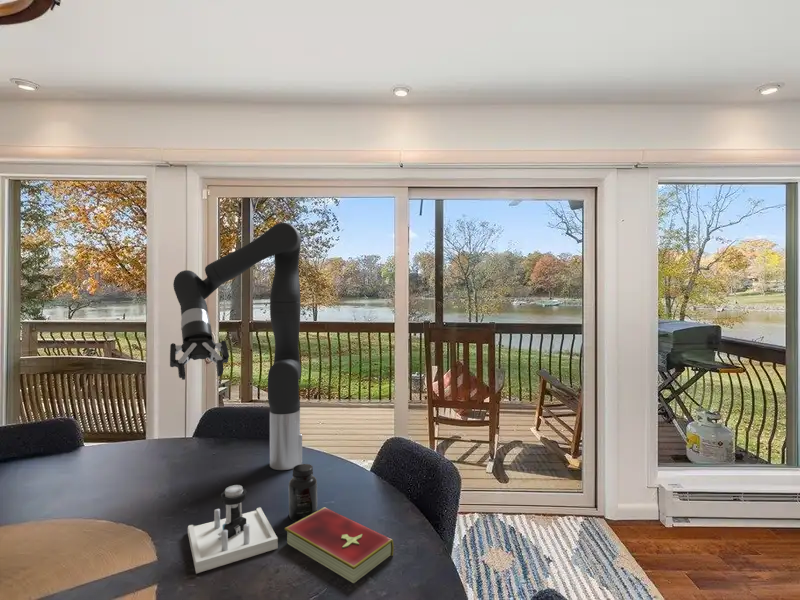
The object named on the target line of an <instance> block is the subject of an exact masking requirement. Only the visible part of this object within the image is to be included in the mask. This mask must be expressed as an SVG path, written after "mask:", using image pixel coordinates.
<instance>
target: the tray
mask: <svg viewBox="0 0 800 600" xmlns="http://www.w3.org/2000/svg"><path fill="white" fill-rule="evenodd" d="M213 512H214V513H213V514H214V517H213V519H214V520H213V521H210V522H206V523H202V524H198V525H194V524H189V525H188V526H187V536H188V540H189V541H188V542H189V546H190V550H191V555H192V560H193V566H194V570H195V574H200V573H202V572H205V571H209V570H212V569H216V568H219V567H222V566H225V565H228V564H232V563H235V562H239V561H241V560H244V559H248V558H251V557H254V556H257V555H261V554H264V553H266V552H270V551H273V550H277V549H278V548H279V544H278V543H279V537H278V536H277V535H276V533H275V531H274V529H273V526H272V525H271V523H270V521H269V520H268V518H267V516H266V515H265V513H264V511H263V509H262V507H260V506H259V507H257V508H256V510H251V511H248V512H244V513H242V514H243V516H242V517H244V518H246V524H245V525H244V531H241V532H240V533H239V534H238V535H234V536H232V537H230V538H228V530H223V524H225V521H226V517H225V518H222V519H221V509H220V508H216V509H214V510H213ZM221 532H222V535H221V536H222V539H221V538H220V539H221V540H219V539H218V538H219V537H221V536H219V535H218V534H219V533H221Z"/></svg>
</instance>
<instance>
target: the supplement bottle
mask: <svg viewBox="0 0 800 600" xmlns="http://www.w3.org/2000/svg"><path fill="white" fill-rule="evenodd" d="M313 467H314V466H313V465H312V464H308V463H302V464H300V465H297V466H295V467H293V468H292V477H291V479H289V482H288V517H289V519H290V520H291V521H293V522H294V523H295V522H297V521H299V520H301V519H303V518H305V517H307V516H309V515H311V514H312V513H314V512H316V511H318V481H317V477H316V476H314V468H313Z"/></svg>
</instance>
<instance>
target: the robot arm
mask: <svg viewBox="0 0 800 600" xmlns="http://www.w3.org/2000/svg"><path fill="white" fill-rule="evenodd" d="M301 244H302V236H301V234H300V232H299V230H298V229H297V228H296V227H295V226H294V225H292V224H290V223H288V222H278V223H276V224H274V225H273V226H272V227H271V228H269V229H268V230H267V231H265V232H264V233H262V234H261V235H259V236H258V237H257V238H256V239H254V240H252V241H250V242H249V243H247V244H246V245H244V246H242V247H240V248H238V249H235V250H234V251H232V252H230V253H228V254H226V255H224V256H223V257H220V258H218V259H217V260H214V261H213V262H210V263H209V264H207V265H206V266H205V268H204V271H205V275H206V278H204V279H202V278H201V277H200V276H198V275H197V273H195V272H194V271H192V270H187V269H185V270H182V271H179V272H178V273H177V274H176V275H175V277H174V279H173V283H172V284H173V290H174V293H175V296H176V299H177V301H178V303H179V306H180V316H181V318H180V319H181V321H180V331H181V338H182V343H181V344H180V345H179V344H178V345H176V343H171V344H170V348H169V367H170V368H177V371H178V378H179V379H181V380H186V367H185V365H186V364H188V363H189V362H190V361H191V360H193V361H196V360H206V359H208V360H209V361H210V362H213V363H215V364H216V365H215V367H216V375H217V377H221V376H222V375H223V374H224V363H225V364H227V363H228V362H229V358H230V353H229V349H228V347H227V346H228V345H227V342H226V340H221V341H220V342H217V343H215V341H214V339H213V331H212V323H211V319H210V316H209V311H208V304H207V302H206V299H207V298H208V297H209V296H210V295H212V294H213V293H214V292H215V291H216V290H217V289H218V288H219V287H221V285H223V284H225V283H227V282H230V281H231V280H233V279H235V278H237V277H238V276H240V275H242V274H243V273H245V272H247V270H249V269H250V268H252V267H253V266H255V265H257V264H259V262H261V261H264V260H265V259H267V258H271V257H272V256H274V275H273V279H272V283H271V284H272V285H271V288H270V295H269V316H270V317H269V318H270V323H271V328H272V332H273V336H274V337H273V338H274V346H275V347H274V358H273V364H272V366H270V367H269V371H268V374H267V401H268V405H269V467H270V468H271V469H273V470H275V471H276V470H277V471H287V470H293V467H295V466H297V465H300V464H303V434H302V433H301V401H300V395H299V394H300V387H299V386H300V381H299V380H300V378H301V375H302V366H301V360H300V359H301V358H300V349H299V339H300V338H299V337H300V328H301V308H302V307H301V305H302V304H301V284H300V277H299V275H300V274H299V265H300V264H299V262H300V253H301V246H302V245H301ZM216 349H217V350H218V352H220V354H221V355H220V354H218V352H217V350H216ZM180 351H181V352H182V353H183V354H182V356H181V357H180V358H179V359H176V357H177V356H176V355H177V354H179V352H180Z"/></svg>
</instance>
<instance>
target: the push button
mask: <svg viewBox="0 0 800 600" xmlns="http://www.w3.org/2000/svg"><path fill="white" fill-rule="evenodd" d="M247 492H248V491H247V489H246V488H245V487H244V488H243V486H242V485H240V484H234V485H229V486H228V487H226V488H225V490H224V491H223V492H221V494H220V498H221V501H222V504H224V505H225V518H226V521H225V524H223V530H228V538H230V537H232V536H234V535H238V534H239V533H240V532H241V531H244V525H245V524H246V518H244V517H242V516H243V514H244V513H243V504H242V503H243V502H244V501H245V500H246V497H247V496H246V495H248V494H247ZM218 535H219V536H221V535H222V532H221V533H219V534H218ZM220 538H221V539H222V536H221V537H219V538H218V539H219V540H221V539H220Z"/></svg>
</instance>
